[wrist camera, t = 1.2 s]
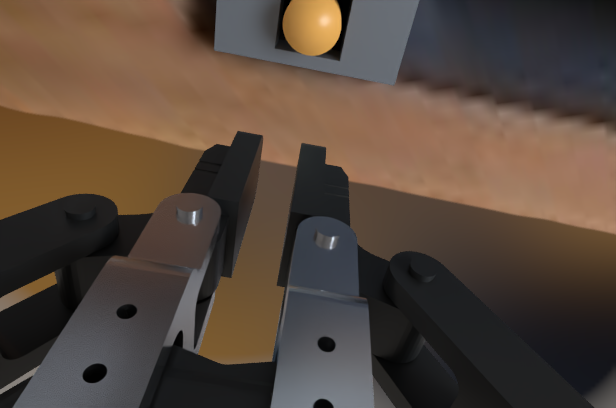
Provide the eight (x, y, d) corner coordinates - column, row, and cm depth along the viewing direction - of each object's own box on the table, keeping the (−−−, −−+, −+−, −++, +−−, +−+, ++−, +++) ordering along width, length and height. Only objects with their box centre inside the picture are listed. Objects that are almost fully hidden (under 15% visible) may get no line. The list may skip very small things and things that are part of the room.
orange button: (292, -19, 31) (287, -13, 28) (346, -8, 31) (347, 0, 28) (284, 38, 33) (279, 49, 30) (334, 48, 33) (334, 60, 30)
